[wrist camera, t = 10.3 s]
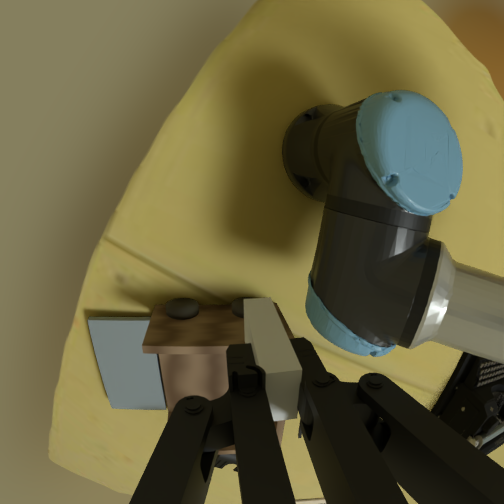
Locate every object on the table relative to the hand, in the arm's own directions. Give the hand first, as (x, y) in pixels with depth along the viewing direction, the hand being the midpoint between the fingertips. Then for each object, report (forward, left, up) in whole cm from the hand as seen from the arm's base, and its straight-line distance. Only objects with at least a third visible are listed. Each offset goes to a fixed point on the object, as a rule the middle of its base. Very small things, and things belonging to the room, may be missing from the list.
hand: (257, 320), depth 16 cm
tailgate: (+12, +24, -27) cm, 38 cm away
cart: (+2, +24, -29) cm, 38 cm away
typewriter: (-77, +47, -29) cm, 95 cm away
